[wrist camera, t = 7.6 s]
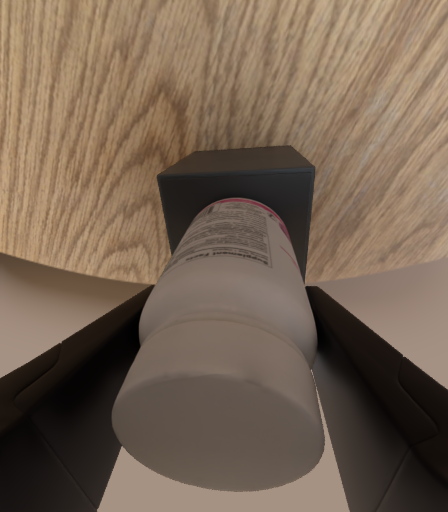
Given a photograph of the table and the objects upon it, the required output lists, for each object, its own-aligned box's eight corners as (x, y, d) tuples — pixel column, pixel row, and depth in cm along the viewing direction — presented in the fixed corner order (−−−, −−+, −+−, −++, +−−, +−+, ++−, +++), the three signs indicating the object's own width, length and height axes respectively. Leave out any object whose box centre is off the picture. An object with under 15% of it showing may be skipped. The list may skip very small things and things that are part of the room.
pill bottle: (289, 284, 13) (335, 511, 6) (197, 287, 14) (129, 492, 6) (290, 189, 11) (371, 360, 3) (179, 198, 11) (41, 356, 4)
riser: (286, 236, 21) (303, 302, 14) (203, 238, 22) (178, 300, 15) (291, 145, 18) (317, 167, 11) (193, 151, 19) (154, 176, 11)
